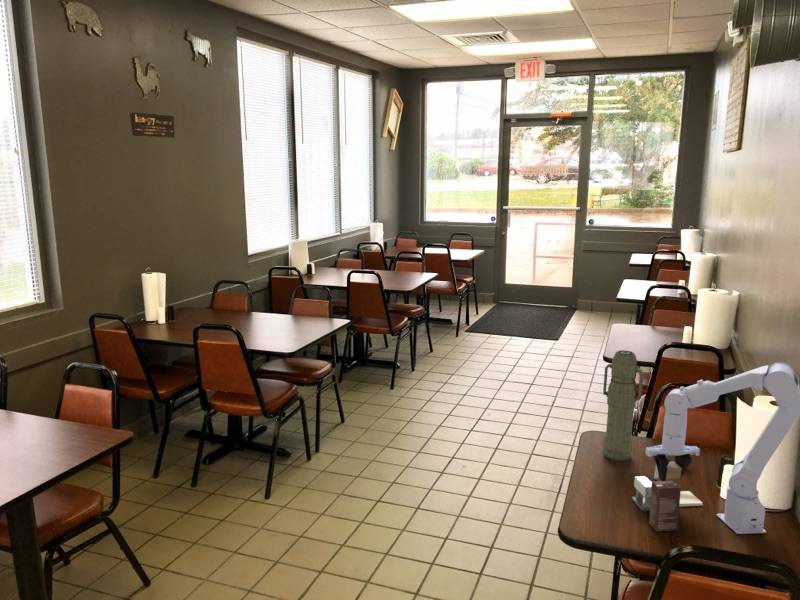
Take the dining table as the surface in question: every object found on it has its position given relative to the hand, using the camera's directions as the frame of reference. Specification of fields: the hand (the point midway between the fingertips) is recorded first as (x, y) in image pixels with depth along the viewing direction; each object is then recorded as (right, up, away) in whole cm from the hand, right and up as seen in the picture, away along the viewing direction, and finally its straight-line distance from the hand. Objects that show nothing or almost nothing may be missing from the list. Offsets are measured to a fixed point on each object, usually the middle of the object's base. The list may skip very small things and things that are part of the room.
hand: (669, 479), depth 177 cm
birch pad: (+6, -7, +4) cm, 10 cm away
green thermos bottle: (-3, -2, +33) cm, 33 cm away
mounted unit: (-7, -7, +1) cm, 10 cm away
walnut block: (0, -2, 0) cm, 2 cm away
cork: (+15, -2, +32) cm, 35 cm away
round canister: (+4, -5, +17) cm, 18 cm away
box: (-6, -10, -11) cm, 16 cm away
